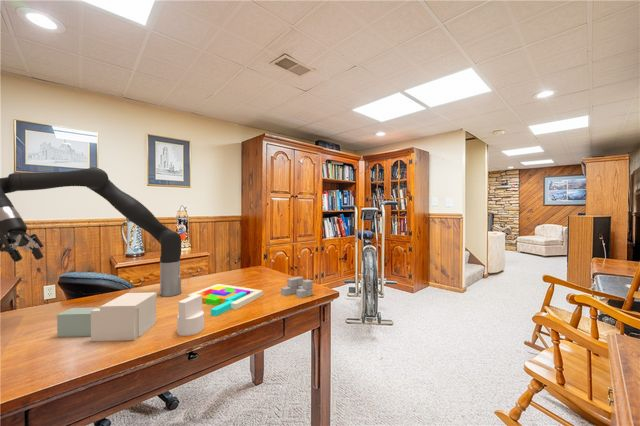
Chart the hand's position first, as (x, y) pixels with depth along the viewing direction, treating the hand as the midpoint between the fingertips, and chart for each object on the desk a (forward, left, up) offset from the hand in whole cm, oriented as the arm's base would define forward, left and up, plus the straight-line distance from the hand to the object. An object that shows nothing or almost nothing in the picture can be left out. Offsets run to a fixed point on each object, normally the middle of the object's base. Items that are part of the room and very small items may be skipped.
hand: (29, 259), depth 98 cm
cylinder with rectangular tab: (-49, +33, -26) cm, 65 cm away
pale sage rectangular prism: (-16, +13, -26) cm, 34 cm away
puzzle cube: (-102, +21, -27) cm, 107 cm away
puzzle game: (-66, +7, -27) cm, 72 cm away
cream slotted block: (-29, +21, -26) cm, 44 cm away
